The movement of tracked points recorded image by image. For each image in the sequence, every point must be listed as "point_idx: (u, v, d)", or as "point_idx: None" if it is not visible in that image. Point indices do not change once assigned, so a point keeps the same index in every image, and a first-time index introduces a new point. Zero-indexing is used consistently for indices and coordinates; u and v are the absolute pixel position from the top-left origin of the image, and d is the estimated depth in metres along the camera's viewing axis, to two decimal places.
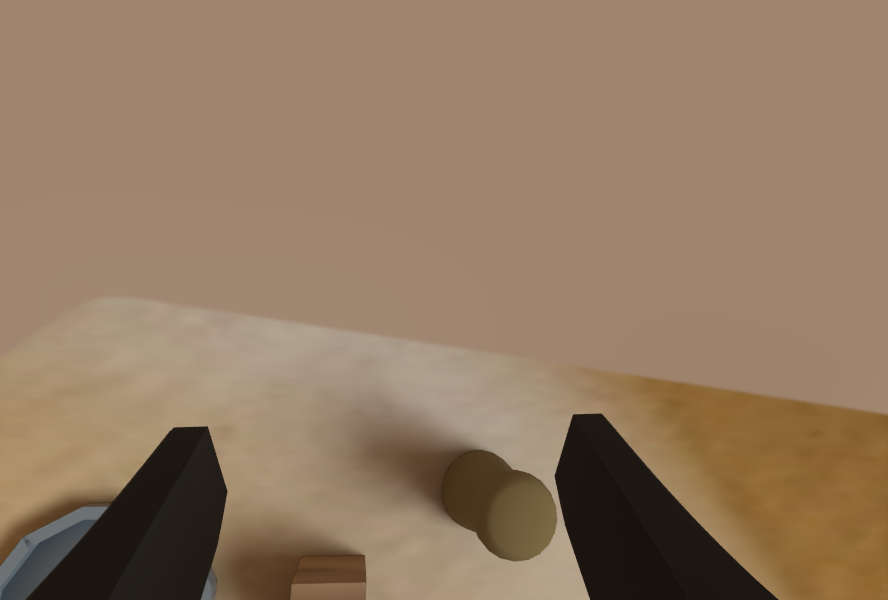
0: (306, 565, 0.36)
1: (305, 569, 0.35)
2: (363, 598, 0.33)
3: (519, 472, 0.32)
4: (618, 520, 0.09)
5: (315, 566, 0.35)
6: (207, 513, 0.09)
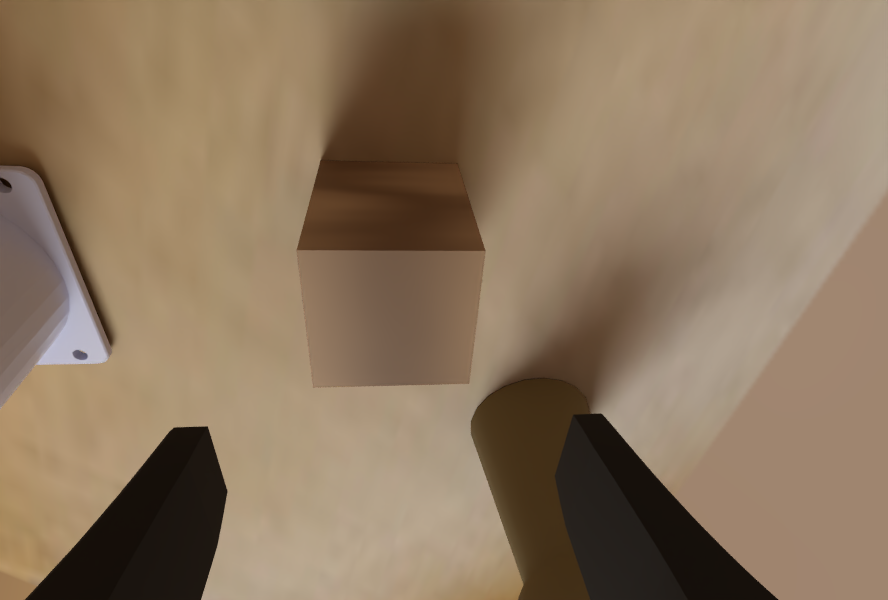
0: None
1: None
2: (438, 380, 0.15)
3: None
4: (618, 520, 0.09)
5: None
6: (207, 513, 0.09)
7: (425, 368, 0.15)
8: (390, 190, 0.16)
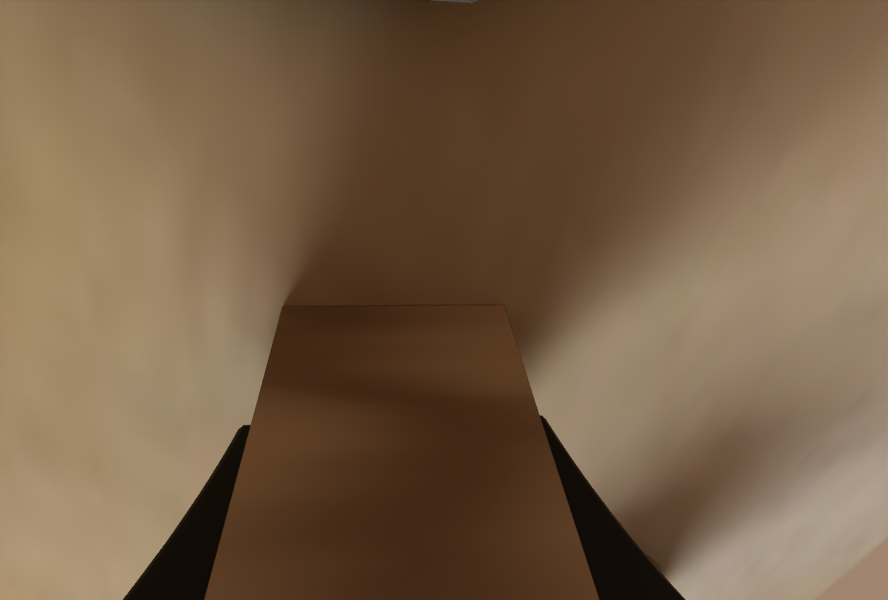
0: None
1: None
2: None
3: None
4: None
5: None
6: None
7: None
8: (398, 388, 0.09)
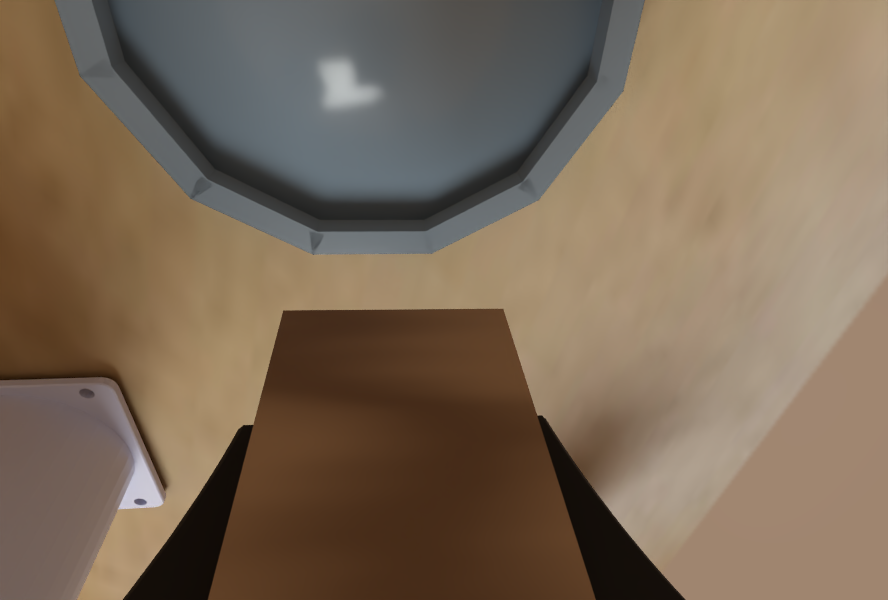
0: None
1: None
2: None
3: None
4: None
5: None
6: None
7: None
8: (398, 393, 0.09)
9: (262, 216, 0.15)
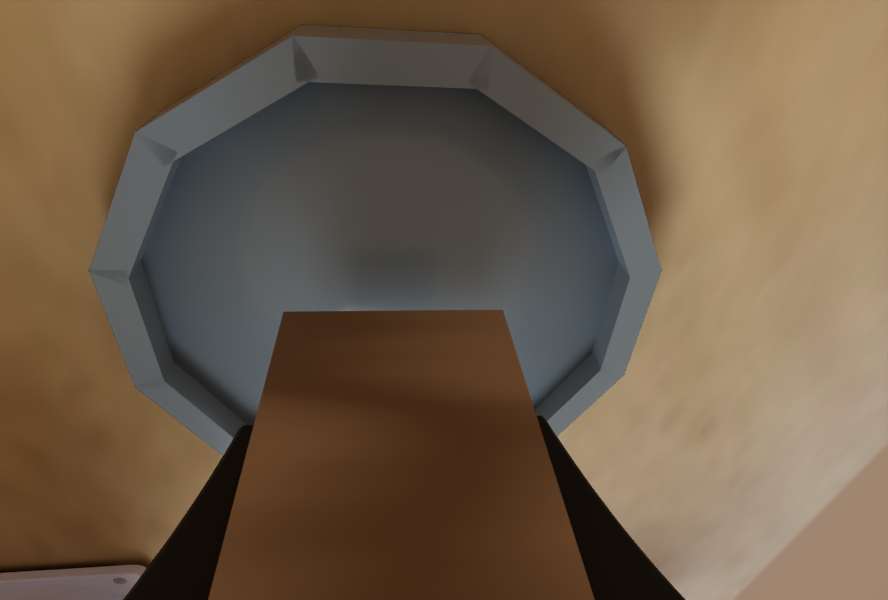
0: None
1: None
2: None
3: None
4: None
5: None
6: None
7: None
8: (398, 393, 0.09)
9: None
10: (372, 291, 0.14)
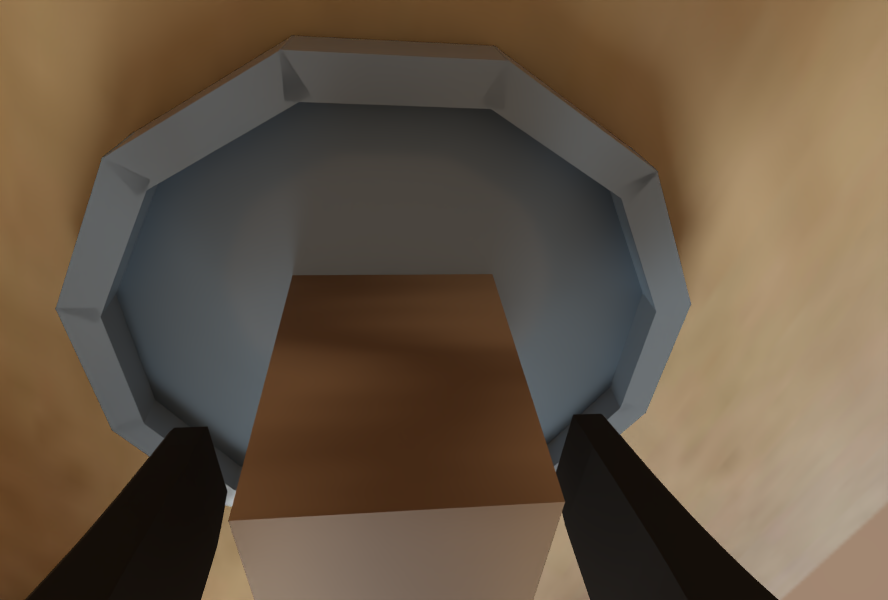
0: None
1: None
2: None
3: None
4: (618, 520, 0.09)
5: None
6: (207, 513, 0.09)
7: None
8: (396, 341, 0.10)
9: None
10: None
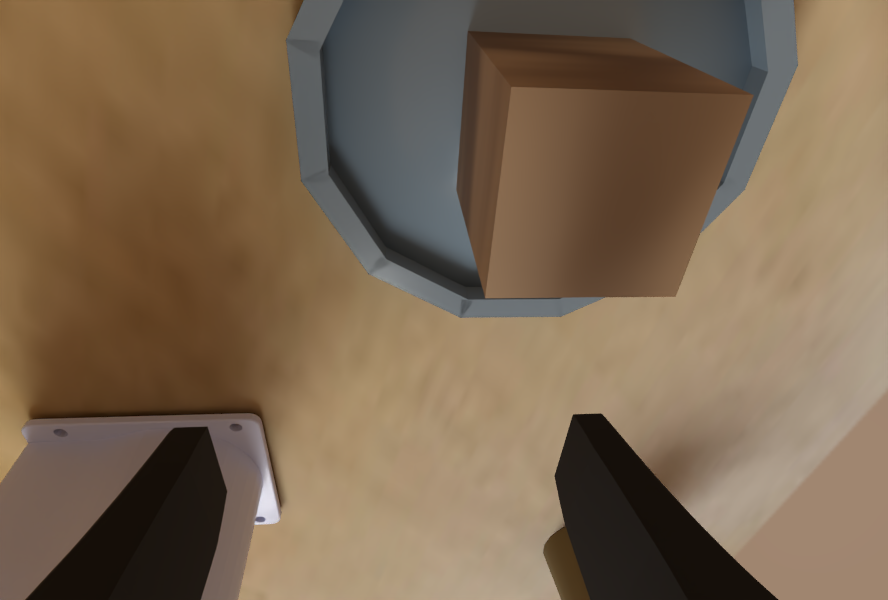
0: None
1: None
2: (638, 291, 0.12)
3: None
4: (618, 520, 0.09)
5: None
6: (207, 513, 0.09)
7: (628, 273, 0.12)
8: (576, 52, 0.12)
9: (424, 287, 0.18)
10: None
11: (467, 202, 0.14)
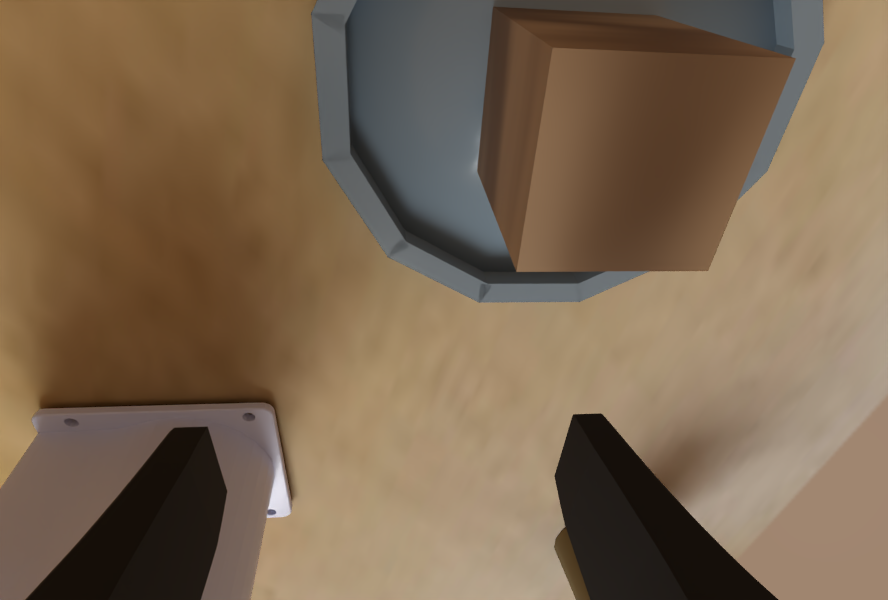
0: None
1: None
2: (671, 265, 0.12)
3: None
4: (618, 520, 0.09)
5: None
6: (207, 513, 0.09)
7: (662, 246, 0.12)
8: (606, 23, 0.12)
9: (444, 271, 0.18)
10: None
11: (492, 180, 0.14)
